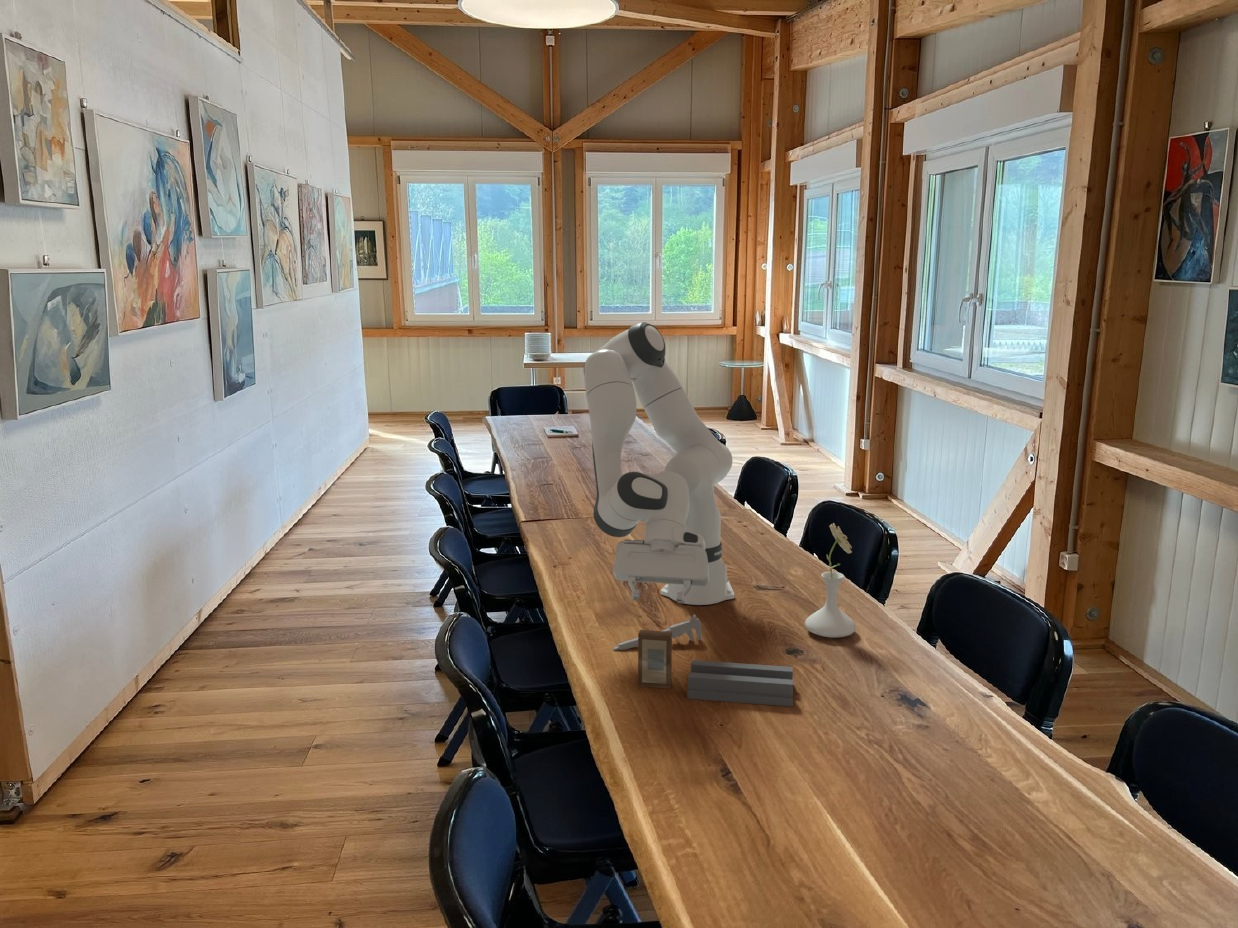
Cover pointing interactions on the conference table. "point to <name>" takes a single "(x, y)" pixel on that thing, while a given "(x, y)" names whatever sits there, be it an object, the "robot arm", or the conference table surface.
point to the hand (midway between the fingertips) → (657, 600)
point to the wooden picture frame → (654, 658)
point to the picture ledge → (741, 683)
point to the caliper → (675, 629)
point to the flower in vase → (832, 600)
